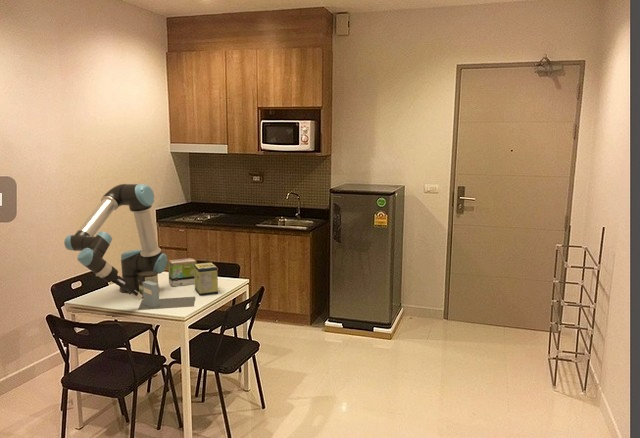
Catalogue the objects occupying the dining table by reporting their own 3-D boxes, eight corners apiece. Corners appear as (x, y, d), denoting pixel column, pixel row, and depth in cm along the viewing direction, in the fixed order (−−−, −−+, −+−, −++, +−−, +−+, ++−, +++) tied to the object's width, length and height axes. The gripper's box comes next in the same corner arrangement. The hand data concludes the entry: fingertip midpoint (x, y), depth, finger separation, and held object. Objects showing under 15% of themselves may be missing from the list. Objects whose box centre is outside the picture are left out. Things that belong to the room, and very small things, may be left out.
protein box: (212, 287, 299) (211, 261, 297) (218, 294, 285) (217, 267, 283) (194, 289, 295) (193, 263, 293) (200, 296, 281) (199, 269, 279)
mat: (142, 300, 272) (142, 299, 272) (195, 297, 278) (195, 296, 278) (137, 311, 255) (137, 310, 255) (194, 307, 261) (194, 306, 260)
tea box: (172, 287, 299) (171, 263, 297) (168, 283, 308) (167, 260, 306) (197, 283, 307) (196, 260, 305) (192, 280, 315) (192, 257, 313)
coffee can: (136, 300, 274) (135, 275, 272) (143, 294, 284) (142, 270, 282) (155, 300, 273) (153, 275, 271) (161, 294, 283) (160, 270, 282)
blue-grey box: (153, 308, 258) (152, 285, 256) (143, 304, 265) (142, 282, 263) (159, 306, 261) (158, 284, 259) (149, 302, 267) (148, 280, 266)
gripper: (95, 276, 246) (129, 301, 260) (107, 280, 237) (142, 306, 251) (105, 263, 249) (139, 289, 263) (117, 267, 240) (151, 294, 254)
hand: (140, 297), depth 257 cm, fingers closed
